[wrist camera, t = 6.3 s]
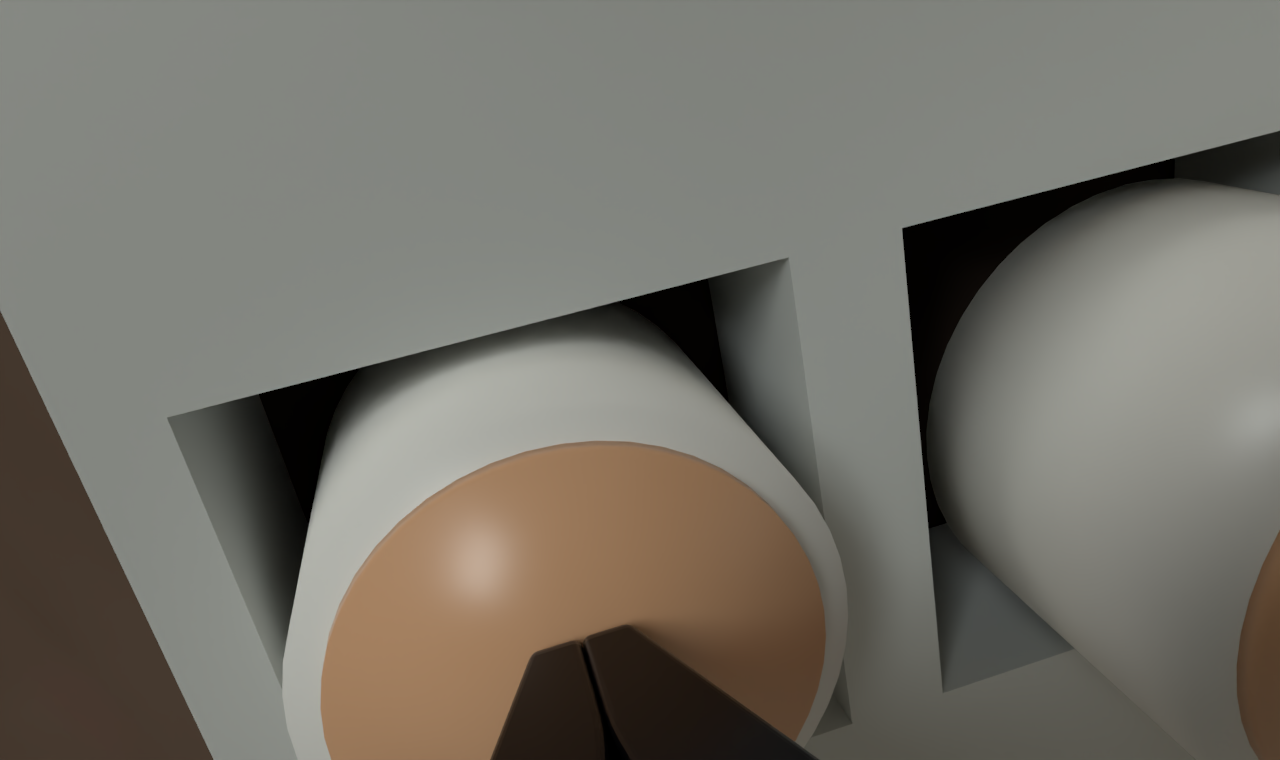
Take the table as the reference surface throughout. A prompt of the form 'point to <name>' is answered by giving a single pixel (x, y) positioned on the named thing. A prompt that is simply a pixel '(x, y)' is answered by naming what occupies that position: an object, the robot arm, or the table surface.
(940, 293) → the table surface
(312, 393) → the table surface
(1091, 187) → the table surface
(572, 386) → the button
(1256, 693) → the button mid
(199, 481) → the board
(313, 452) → the table surface
